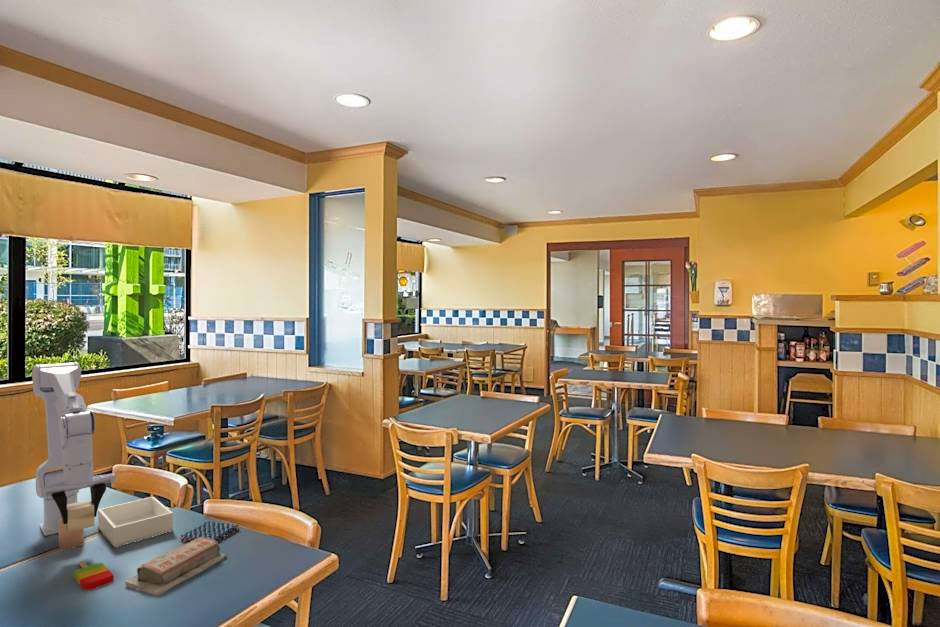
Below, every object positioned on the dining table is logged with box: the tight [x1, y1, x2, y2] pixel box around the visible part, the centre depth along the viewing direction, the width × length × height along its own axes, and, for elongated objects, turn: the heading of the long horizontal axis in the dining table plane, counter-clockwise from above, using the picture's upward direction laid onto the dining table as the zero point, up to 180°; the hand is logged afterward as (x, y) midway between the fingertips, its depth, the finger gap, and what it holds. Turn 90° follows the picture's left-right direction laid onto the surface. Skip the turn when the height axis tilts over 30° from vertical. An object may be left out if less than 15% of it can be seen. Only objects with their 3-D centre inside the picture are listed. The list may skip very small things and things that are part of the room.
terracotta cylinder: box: [58, 517, 85, 550], centre depth 135 cm, size 5×5×7 cm
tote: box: [97, 496, 174, 548], centre depth 143 cm, size 17×13×5 cm
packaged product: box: [124, 537, 228, 596], centre depth 121 cm, size 18×5×10 cm
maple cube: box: [65, 499, 96, 532], centre depth 130 cm, size 5×5×5 cm
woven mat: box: [179, 521, 240, 543], centre depth 140 cm, size 10×11×2 cm
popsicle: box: [72, 561, 114, 591], centre depth 120 cm, size 6×15×2 cm, turn 48°
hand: (79, 519), depth 130 cm, fingers closed on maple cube, 5 cm apart
